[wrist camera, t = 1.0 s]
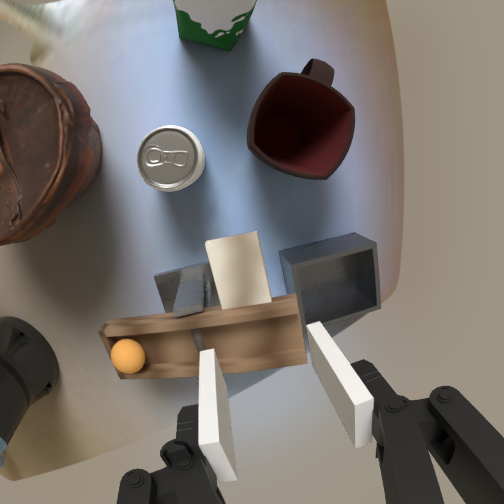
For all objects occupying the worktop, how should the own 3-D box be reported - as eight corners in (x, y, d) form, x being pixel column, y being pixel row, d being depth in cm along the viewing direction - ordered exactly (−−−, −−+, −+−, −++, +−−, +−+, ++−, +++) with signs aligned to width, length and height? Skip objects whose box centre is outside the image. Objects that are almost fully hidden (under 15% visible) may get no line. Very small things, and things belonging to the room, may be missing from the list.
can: (159, 133, 37) (138, 119, 26) (209, 139, 38) (208, 126, 27) (151, 183, 39) (127, 189, 27) (201, 189, 40) (197, 197, 28)
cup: (228, 157, 39) (235, 151, 28) (268, 64, 37) (289, 28, 25) (299, 186, 41) (332, 193, 30) (335, 95, 39) (377, 73, 27)
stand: (178, 343, 45) (171, 391, 34) (154, 274, 42) (137, 308, 31) (245, 328, 45) (255, 373, 35) (226, 256, 42) (232, 286, 32)
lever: (128, 366, 37) (120, 378, 34) (88, 265, 33) (75, 273, 30) (305, 348, 34) (307, 363, 31) (283, 225, 30) (284, 232, 27)
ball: (127, 361, 35) (113, 380, 32) (115, 333, 34) (99, 351, 30) (155, 360, 35) (142, 380, 31) (143, 331, 34) (128, 350, 30)
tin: (290, 311, 45) (302, 332, 39) (279, 251, 43) (290, 265, 37) (361, 291, 46) (381, 308, 40) (354, 232, 44) (376, 242, 38)
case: (37, 73, 32) (-38, 41, 15) (149, 116, 37) (106, 83, 19) (-6, 186, 35) (-87, 205, 18) (96, 240, 40) (33, 288, 23)
